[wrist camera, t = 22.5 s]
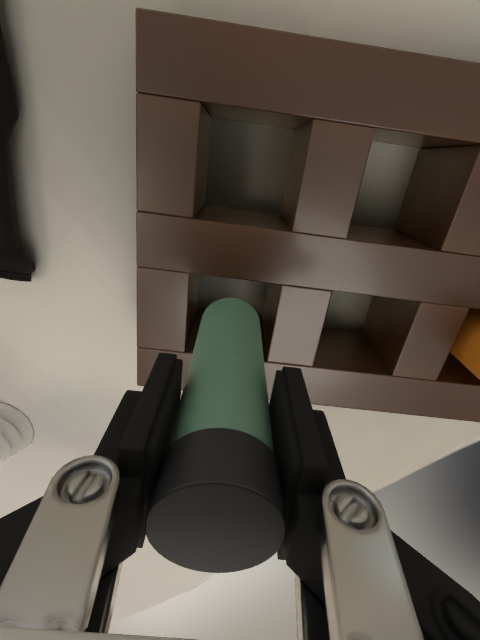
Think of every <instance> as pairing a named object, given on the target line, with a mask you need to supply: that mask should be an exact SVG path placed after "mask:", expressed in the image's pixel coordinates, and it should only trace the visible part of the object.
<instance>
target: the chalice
mask: <svg viewBox="0 0 480 640" xmlns="http://www.w3.org/2000/svg"><path fill="white" fill-rule="evenodd" d="M33 435H34V432H33V427H32V425H31V423H30V422H29V420H28V418H27V417H26V416H24V415H23V414H22V413H21V412H20V411H19V410H17V409H15V408H14V407H12V406H10V405H7V404H4V403H1V402H0V462H1V461H3V460H5V459H6V458H7V457H9V456H11V455H13V454H15V453H16V452H17V451H18V450H21V449H23V448H25V447H27V446H28V445H29V444H30V443H31V441H32V439H33Z"/></svg>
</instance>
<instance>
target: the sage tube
mask: <svg viewBox="0 0 480 640" xmlns="http://www.w3.org/2000/svg"><path fill="white" fill-rule="evenodd" d="M286 531H287V523H286V515H285V507H284V499H283V490H282V482H281V474H280V467H279V463H278V460H277V458H276V456H275V455H274V448H273V439H272V430H271V420H270V411H269V402H268V393H267V384H266V375H265V365H264V356H263V347H262V338H261V329H260V320H259V316H258V314H257V312H256V310H255V309H254V308H253V307H252V306H251V305H250V304H249V303H247V302H246V301H243V300H241V299H238V298H222V299H219V300H217V301H215V302H213V303H212V304H210V305H209V306H208V307H207V308H206V310H205V311H204V313H203V316H202V319H201V323H200V327H199V331H198V335H197V339H196V342H195V346H194V350H193V354H192V358H191V362H190V366H189V370H188V373H187V377H186V381H185V385H184V389H183V393H182V397H181V401H180V404H179V408H178V412H177V416H176V420H175V424H174V428H173V432H172V435H171V439H170V443H169V447H168V449H167V450H166V451H165V453H164V455H163V456H162V459H161V463H160V466H159V470H158V474H157V477H156V481H155V485H154V488H153V492H152V495H151V498H150V502H149V506H148V509H147V513H146V517H145V532H146V535H147V538H148V540H149V542H150V544H151V545H152V546H153V548H154V549H155V550H156V551H157V552H158V553H159V554H161V555H162V556H163V557H164V558H166V559H168V560H169V561H171V562H173V563H175V564H177V565H180V566H182V567H185V568H188V569H192V570H196V571H202V572H211V573H225V572H235V571H240V570H244V569H248V568H251V567H254V566H256V565H259V564H261V563H262V562H264V561H266V560H268V559H269V558H270V557H272V556H273V555H274V554H275V553H276V552H277V551H278V550H279V549H280V547H281V546H282V544H283V542H284V539H285V536H286Z"/></svg>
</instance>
